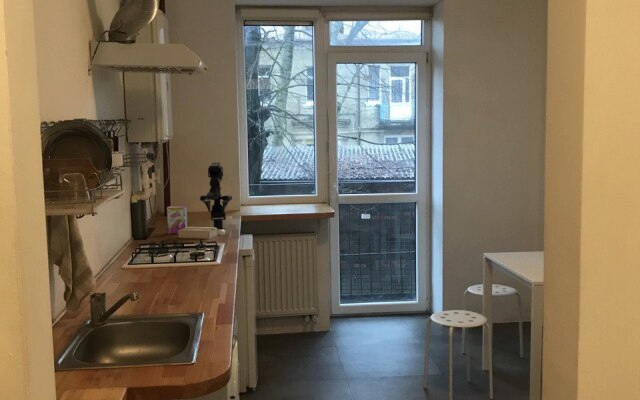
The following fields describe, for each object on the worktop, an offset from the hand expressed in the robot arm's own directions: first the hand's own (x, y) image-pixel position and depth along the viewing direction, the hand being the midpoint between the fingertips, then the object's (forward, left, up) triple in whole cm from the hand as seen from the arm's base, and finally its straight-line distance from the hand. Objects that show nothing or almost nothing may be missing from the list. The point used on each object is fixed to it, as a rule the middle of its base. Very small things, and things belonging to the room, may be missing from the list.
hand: (216, 212), depth 403 cm
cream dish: (+2, +2, -13) cm, 13 cm away
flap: (+9, -7, -9) cm, 14 cm away
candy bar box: (+3, -25, -13) cm, 28 cm away
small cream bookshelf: (+12, -7, -13) cm, 19 cm away
